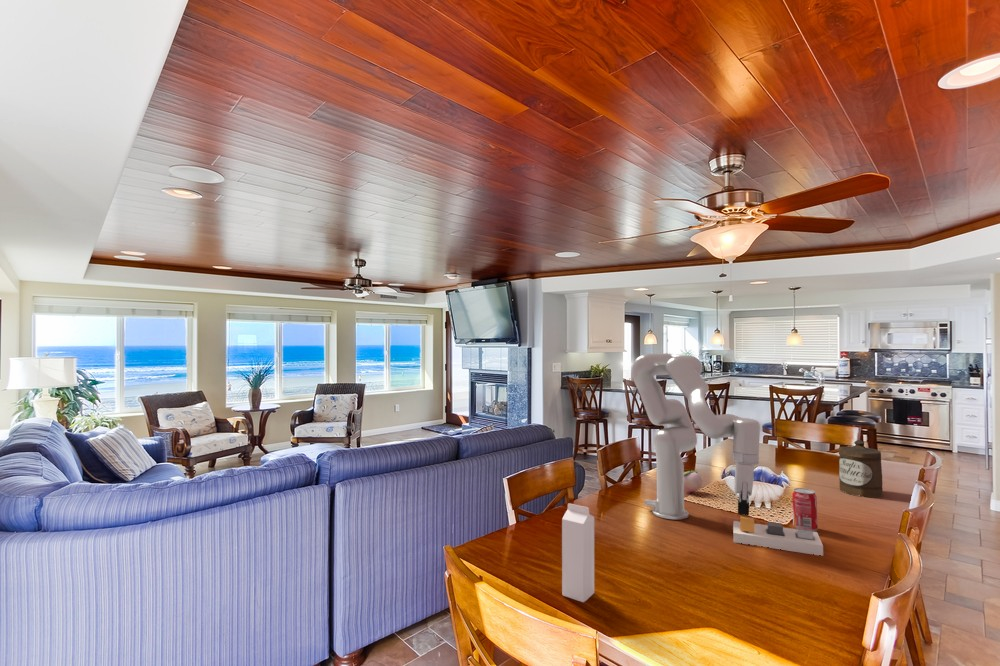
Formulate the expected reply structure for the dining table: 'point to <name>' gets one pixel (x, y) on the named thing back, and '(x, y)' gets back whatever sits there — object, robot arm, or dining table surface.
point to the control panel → (777, 539)
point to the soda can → (805, 508)
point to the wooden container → (860, 470)
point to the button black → (775, 528)
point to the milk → (577, 553)
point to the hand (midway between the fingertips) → (743, 513)
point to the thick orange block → (746, 524)
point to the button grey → (804, 532)
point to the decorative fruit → (692, 481)
